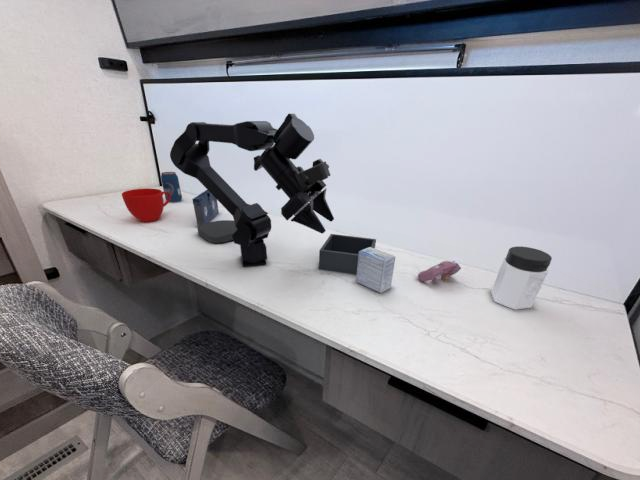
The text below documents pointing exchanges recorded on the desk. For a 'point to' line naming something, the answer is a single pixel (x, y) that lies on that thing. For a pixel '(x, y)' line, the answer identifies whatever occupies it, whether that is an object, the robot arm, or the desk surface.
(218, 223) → the media streaming box
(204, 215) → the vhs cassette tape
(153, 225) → the desk surface
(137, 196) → the ceramic cup
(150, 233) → the desk surface
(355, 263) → the storage bin
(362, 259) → the medicine box
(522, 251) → the jar
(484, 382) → the desk surface
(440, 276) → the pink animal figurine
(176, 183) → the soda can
